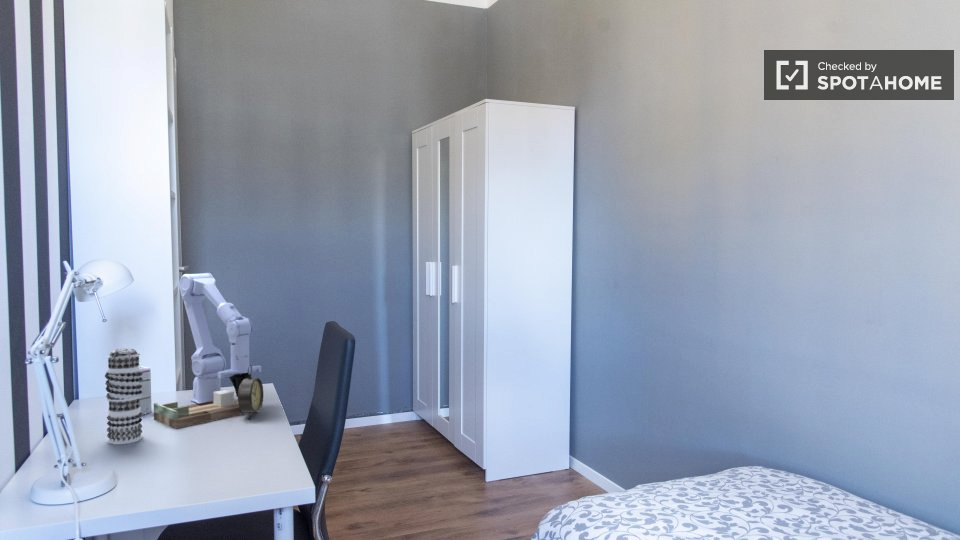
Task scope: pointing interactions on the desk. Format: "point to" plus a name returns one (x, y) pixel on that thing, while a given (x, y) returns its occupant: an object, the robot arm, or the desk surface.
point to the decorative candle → (124, 396)
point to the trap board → (193, 413)
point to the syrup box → (145, 390)
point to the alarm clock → (250, 395)
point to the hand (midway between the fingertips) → (240, 396)
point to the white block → (223, 398)
